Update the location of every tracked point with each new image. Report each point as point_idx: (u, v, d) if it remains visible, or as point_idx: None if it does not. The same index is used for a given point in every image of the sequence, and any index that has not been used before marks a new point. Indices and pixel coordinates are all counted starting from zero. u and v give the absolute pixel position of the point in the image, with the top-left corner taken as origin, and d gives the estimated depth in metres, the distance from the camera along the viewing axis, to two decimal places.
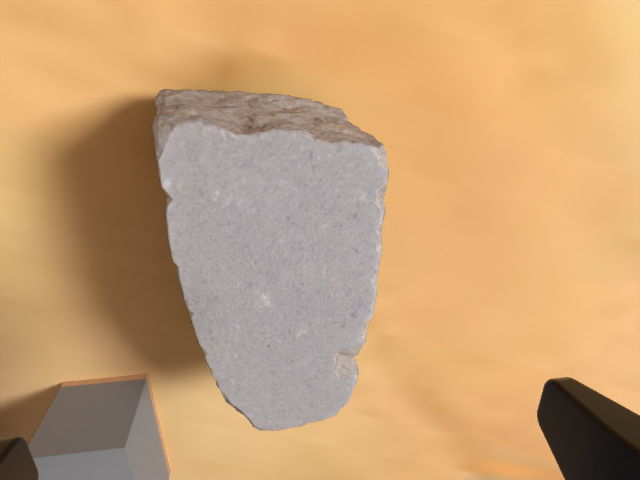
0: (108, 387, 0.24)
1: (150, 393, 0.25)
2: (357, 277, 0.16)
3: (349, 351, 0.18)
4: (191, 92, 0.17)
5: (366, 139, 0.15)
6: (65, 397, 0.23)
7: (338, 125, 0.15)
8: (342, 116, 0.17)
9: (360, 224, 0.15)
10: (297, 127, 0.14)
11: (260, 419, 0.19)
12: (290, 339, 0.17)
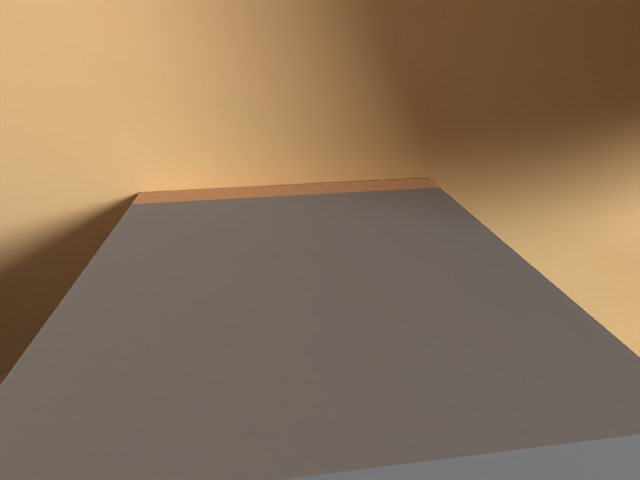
0: (318, 203, 0.06)
1: None
2: None
3: None
4: None
5: None
6: (160, 225, 0.06)
7: None
8: None
9: None
10: None
11: None
12: None
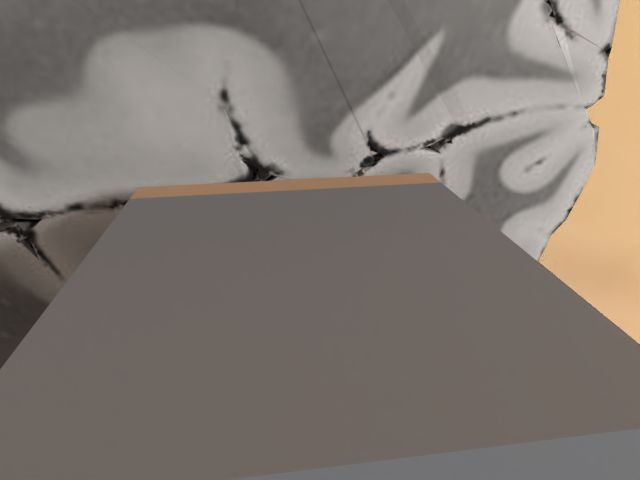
0: (319, 198, 0.06)
1: None
2: None
3: None
4: None
5: None
6: (159, 219, 0.05)
7: None
8: None
9: None
10: None
11: None
12: None
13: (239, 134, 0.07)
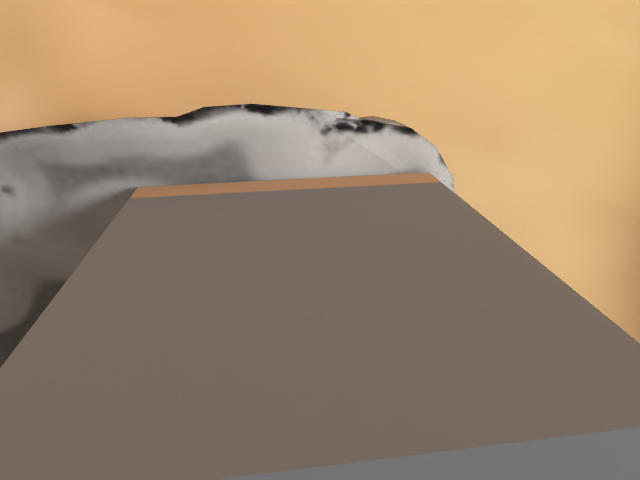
0: (319, 197, 0.06)
1: None
2: None
3: None
4: None
5: None
6: (159, 219, 0.05)
7: None
8: None
9: None
10: None
11: None
12: None
13: None
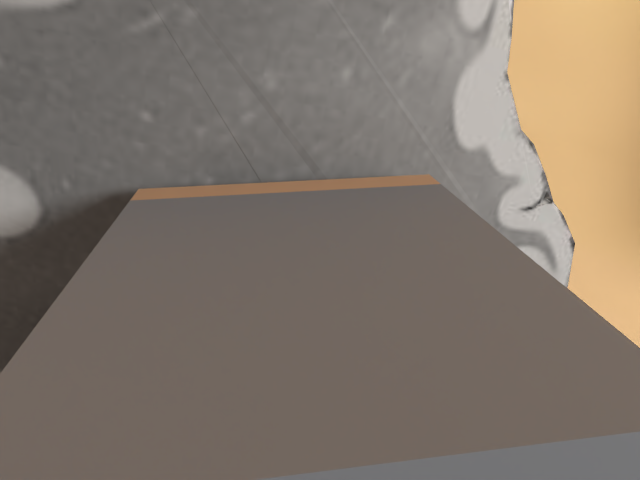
0: (319, 200, 0.06)
1: None
2: None
3: None
4: None
5: None
6: (159, 221, 0.05)
7: None
8: None
9: None
10: None
11: None
12: None
13: None
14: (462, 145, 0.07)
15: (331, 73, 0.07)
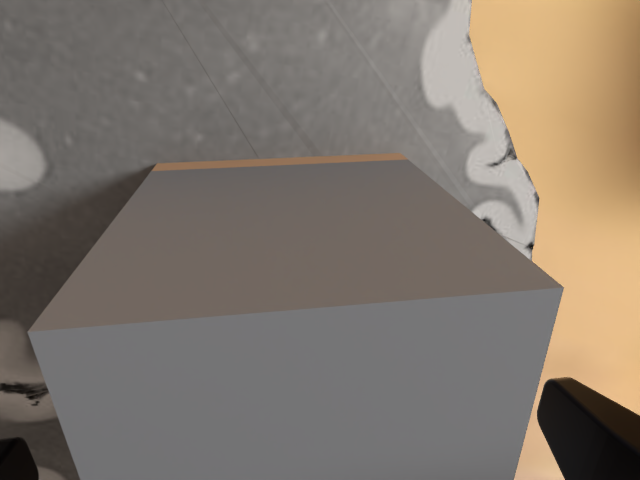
0: (306, 170, 0.07)
1: None
2: None
3: None
4: None
5: None
6: (177, 185, 0.07)
7: None
8: None
9: None
10: None
11: None
12: None
13: None
14: (430, 104, 0.08)
15: (308, 36, 0.07)
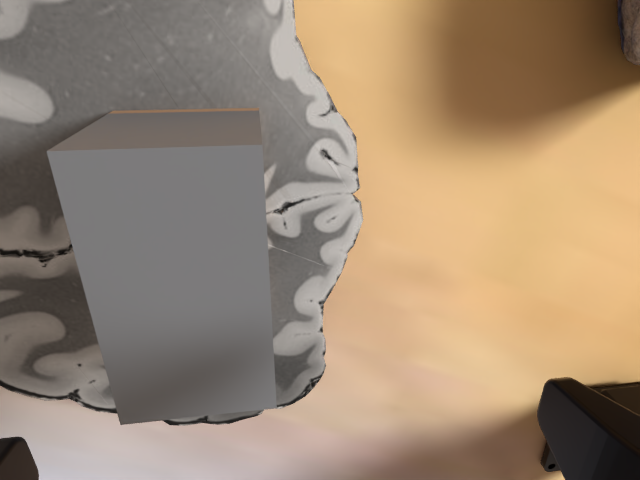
0: (195, 114, 0.13)
1: None
2: None
3: None
4: None
5: None
6: (120, 118, 0.13)
7: None
8: None
9: None
10: None
11: None
12: None
13: None
14: (278, 77, 0.14)
15: (202, 36, 0.13)
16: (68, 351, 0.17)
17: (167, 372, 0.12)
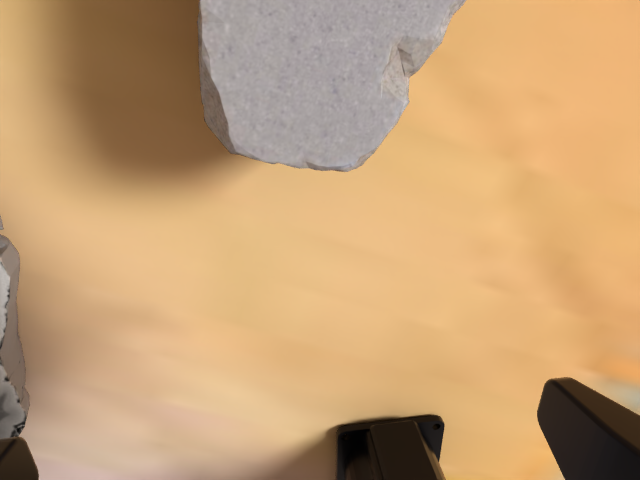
0: None
1: None
2: None
3: (412, 51, 0.12)
4: None
5: None
6: None
7: None
8: None
9: None
10: None
11: (243, 127, 0.12)
12: None
13: None
14: None
15: None
16: None
17: None
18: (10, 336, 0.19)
